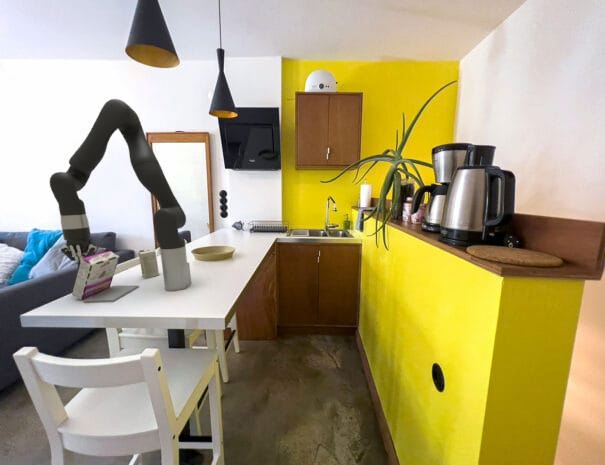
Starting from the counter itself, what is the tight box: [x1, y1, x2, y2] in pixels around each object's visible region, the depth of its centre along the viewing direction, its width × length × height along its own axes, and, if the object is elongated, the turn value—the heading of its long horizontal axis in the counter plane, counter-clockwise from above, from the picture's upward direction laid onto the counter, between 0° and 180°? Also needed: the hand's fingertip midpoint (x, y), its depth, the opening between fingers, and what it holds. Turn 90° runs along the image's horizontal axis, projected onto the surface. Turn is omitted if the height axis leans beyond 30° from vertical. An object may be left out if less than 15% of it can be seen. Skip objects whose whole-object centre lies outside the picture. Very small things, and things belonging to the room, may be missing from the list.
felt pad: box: [82, 284, 140, 304], centre depth 94 cm, size 11×14×1 cm
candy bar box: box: [71, 250, 120, 301], centre depth 92 cm, size 11×5×16 cm, turn 170°
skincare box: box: [138, 249, 160, 279], centre depth 113 cm, size 6×4×12 cm
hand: (84, 270), depth 93 cm, fingers closed
